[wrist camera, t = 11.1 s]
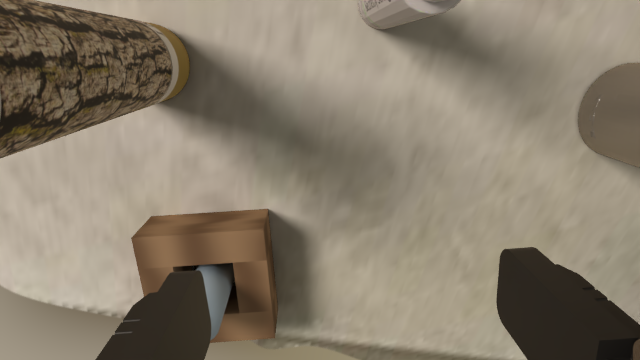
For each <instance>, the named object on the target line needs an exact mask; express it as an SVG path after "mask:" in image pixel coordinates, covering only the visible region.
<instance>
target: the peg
mask: <svg viewBox="0 0 640 360" xmlns="http://www.w3.org/2000/svg"><path fill="white" fill-rule="evenodd" d="M196 270H199V271H201V273H202V275H203V279H204V285H205V290H206V296H207V301H208V307H209V313H210V318H211V339H210V340H212V339H213V338H214V337H215V336H216V335H217V333H218V332H219V329H220V325H221V322H222V319H223V315H224V312H225V309H226V306H227V302H228V299H229V296H230V292H231V289H232V286H233V282H234V279H235V276H234V269H233V263H221V264H206V265H198V266H197V268H196ZM196 270H195V271H196Z"/></svg>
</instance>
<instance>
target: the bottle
mask: <svg viewBox="0 0 640 360" xmlns="http://www.w3.org/2000/svg"><path fill="white" fill-rule="evenodd" d="M460 1H461V0H359V1H358V7H359V13H360V15H361V17H362V19H363V20H364V21H365V22H366V23H367V24H368V25H369V26H371V27H373V28H375V29H387V28H391V27H395V26H398V25H402V24H405V23H409V22H413V21H416V20H420V19H423V18H427V17H430V16H434V15H437V14H441V13H444V12H446V11H448V10H450V9H451V8H453V7H455V6H456V5H457V4H458V3H459V2H460Z"/></svg>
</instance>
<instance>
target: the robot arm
mask: <svg viewBox="0 0 640 360" xmlns="http://www.w3.org/2000/svg"><path fill="white" fill-rule="evenodd" d="M578 126H579V131H580V134H581V136H582V139H583V141H584V142H585V143H586V144H587V146H588V147H589V148H591V149H592V150H594V151H595V152H597V153H600V154H602V155H605V156H608V157H611V158H614V159H617V160H619V161H622V162H625V163H628V164H631V165H634V166H636V167H639V168H640V63H627V64H623V65H620V66H617V67H615V68H613V69H611V70H609V71H607V72H606V73H604V74H603V75H602V76H600V77H599V78H598V79H597V80H596V81H595V82H594V83H593V84H592V85H591V87H590V88H589V90H588V91H587V93H586V94H585V96H584V98H583V101H582V103H581V106H580V110H579V114H578ZM497 310H498V314H499V317H500V319H501V322H502V324H503V325H504V327H505V328H506V329H507V331H508V332H509V334H510V335H511V337H512V338H513V339H514V341H515V342H516V344H517V345H518V346H519V348H520V349H521V351H522V352H523V354H524V355H525V356H526V358H527V359H528V360H640V325H639V324H638V323H637V322H636V321H634V320H633V319H632V318H631V317H630V316H628V315H627V314H626V313H625V312H624V311H622V310H621V309H620V308H619V307H618V306H616V305H615V304H614V303H613V302H612V301H608V300H607V297H606V296H604V295H603V294H602V293H601V292H600V291H598V290H595V289H594V286H592V285H591V284H590V283H589V282H588V281H586V280H585V279H584V278H583V277H582V276H580V275H579V274H577V273H575V272H573V271H571V270H569V269H567V268H565V267H563V266H561V265H558V264H557V265H555V264H554V263H553V262H551V261H550V260H549V259H548V258H547V257H546V256H545V255H543V254H542V253H541V252H540V251H539V250H538V249H536V248H534V247H529V248H515V249H504V250H503V251H502V253H501V256H500V264H499V276H498V288H497ZM210 339H211V318H210V313H209V307H208V301H207V296H206V290H205V285H204V279H203V275H202V273H201V271H199V270H196V271H182V272H171V273H169V275H168V276H167V278H166V279H165V281H164V282H163V284H162V286H161V287H160V289H159V290H158V292H154V293H149V294H147V295H146V296H145V297H144V298H142V299H141V300H140V301H138V302H137V303H136V304H135V305H133V307H132V308H131V309H130V311H129V312H128V314H127V315H126V317H125V318H124V320H123V323H121V324H120V325H119V327H118V328H117V330H116V331H115V335H112V337H111V338H110V340H109V341H108V343H107V344H106V345H105V347H104V348H103V350H102V351H101V353H100V354H99V356H98V357H97V359H96V360H204V359H205V356H206V353H207V350H208V347H209V344H210Z"/></svg>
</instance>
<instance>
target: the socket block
mask: <svg viewBox="0 0 640 360" xmlns="http://www.w3.org/2000/svg"><path fill="white" fill-rule="evenodd" d="M131 239H132V243H133V248H134V252H135V257H136V261H137V266H138V271H139V275H140V280H141V284H142V289H143V294H144V297H145V296H146V295H147V294H149V293H154V292H158V290H159V289H160V287H161V286H162V284H163V282H164V281H165V279H166V278H167V276H168V275H169V273H171V272H182V271H192V267H191V265H206V264H221V263H233V269H234V276H235V284H236V286H232V289H231V292H230V296H229V299H228V302H227V306H226V309H225V312H224V315H223V319H222V322H221V325H220V329H219V332H218V333H217V335H216V336H215V337H214V338H213V339H212V340H210V343H212V342H226V341H239V340H254V339H268V338H275V333H276V322H277V312H278V304H277V294H276V284H275V274H274V264H273V254H272V244H271V234H270V224H269V214H268V209H260V210H244V211H229V212H214V213H198V214H183V215H167V216H152V217H150V218H149V220H148V221H147V222H146V223H145V224H144V225H143V226H142V227H141V228H140V229H139V230H138V231H137V233H136V234H135V235H134V236H133V237H132V238H131Z"/></svg>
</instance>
